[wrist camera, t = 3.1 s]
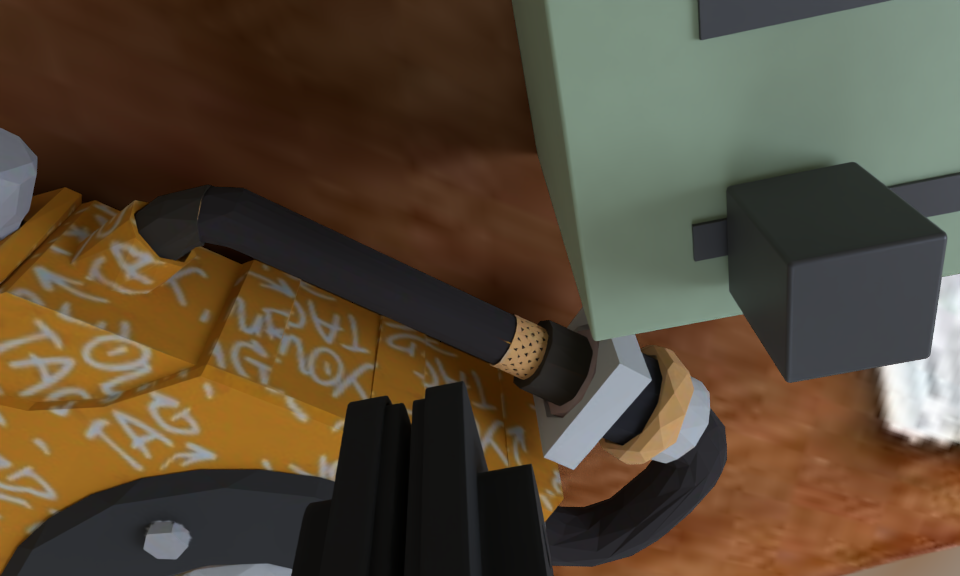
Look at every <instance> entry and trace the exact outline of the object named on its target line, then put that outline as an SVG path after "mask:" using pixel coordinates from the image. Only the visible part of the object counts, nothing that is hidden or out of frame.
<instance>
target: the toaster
mask: <svg viewBox="0 0 960 576" xmlns="http://www.w3.org/2000/svg"><path fill="white" fill-rule="evenodd" d="M512 6H513V12H514V18H515V24H516V29H517V35H518V41H519V47H520V53H521V59H522V65H523V71H524V77H525V83H526V89H527V95H528V101H529V107H530V113H531V119H532V125H533V131H534V137H535V143H536V149H537V154H538V158H539V161H540V164H541V168H542V171H543V174H544V178H545V181H546V184H547V188H548V191H549V195H550V198H551V201H552V205H553V208H554V211H555V215H556V218H557V221H558V225H559V228H560V231H561V235H562V238H563V241H564V245H565V248H566V251H567V255H568V258H569V261H570V265H571V268H572V271H573V275H574V278H575V281H576V285H577V288H578V291H579V295H580V298H581V301H582V305H583V308H584V312H585V315H586V318H587V322H588V325H589V328H590V332H591V335H592V338H593V339H594V340H595V341H601V340H606V339H611V338H617V337H622V336H627V335H633V334H638V333H644V332H649V331H654V330H660V329H665V328H671V327H676V326H681V325H687V324H692V323H697V322H703V321H708V320H714V319H719V318H724V317H730V316H735V315H741V314H743V313H742V311H741V309H740V308H739V306H738V305H737V303H736V301H735V300H734V298H733V297H732V295H731V294H730V292H729V271H728V234H727V197H726V190H727V187H729V186H732V185H737V184H742V183H747V182H752V181H757V180H762V179H767V178H772V177H777V176H782V175H787V174H793V173H798V172H803V171H808V170H813V169H818V168H823V167H828V166H833V165H838V164H843V163H848V162H856V163H858V164H859V165H860V166H861V167H863V168H864V169H865V170H867V171H868V172H869V173H870V174H872V175H873V176H874V177H875V178H877V179H878V180H879V181H881V182H882V183H883V184H884V185H886V186H887V187H888V188H890V189H891V190H892V191H893V192H895V193H896V194H897V195H898V196H900V197H901V198H902V199H904V200H905V201H906V202H907V203H909V204H910V205H911V206H913V207H914V208H915V209H916V210H918V211H919V212H920V213H921V214H923V215H924V216H925V217H927V218H928V219H929V220H930V221H932V222H933V223H934V224H936V225H937V226H938V227H939V228H941V229H942V230H943V231H944V232H946V234H947V245H946V252H945V259H944V265H943V272H942V277H945V276H950V275H956V274H960V0H512Z"/></svg>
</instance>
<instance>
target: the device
mask: <svg viewBox="0 0 960 576" xmlns="http://www.w3.org/2000/svg"><path fill="white" fill-rule="evenodd" d="M36 175H37V156H36V155H35V154H34V153H33V152H32V150H31V149H30V148H29V147H28V146H27V145H26V144H25V143H24V142H23V140H22V139H21V138H20V137H19V136H17V135H14V134H12V133H10V132H8V131H6V130H4V129H2V128H0V576H291V573H292V568H293V564H294V559H295V554H296V549H297V544H298V539H299V534H300V529H301V524H302V519H303V516H304V512H305V509H306V507H307V506H308V505H309V503H313V502H319V501H324V500H330V499H332V495H333V489H334V482H335V476H336V470H337V464H338V458H339V452H340V446H341V440H342V434H343V428H344V422H345V416H346V410H347V406H348V404H349V403H350V402H353V401H359V400H364V399H369V398H375V397H380V396H385V395H386V396H388V397H389V398H390V400H391V403H392V404H397V403H404V405H405V407H406V409H407V412H408V415H409V419H410V422H411V424H412V405H413V401H414V400H419V399H424V398H425V390H426V388H428V387H434V386H439V385H444V384H450V383H455V382H460V381H464V383H465V385H466V388H467V392H468V396H469V399H470V403H471V407H472V411H473V414H474V418H475V422H476V426H477V429H478V433H479V437H480V441H481V444H482V448H483V452H484V456H485V460H486V463H487V467H488V471H492V470H498V469H503V468H509V467H515V466H520V465H526V464H532V466H533V470H534V475H535V479H536V483H537V488H538V492H539V497H540V502H541V506H542V511H543V516H544V522H545V527H546V532H547V538H548V544H549V550H550V556H551V562H552V565H553V566H591V567H593V566H596V565H600V564H603V563H607V562H611V561H614V560H618V559H622V558H625V557H629V556H632V555H634V554H635V553H637V552H639V551H640V550H642V549H644V548H646V547H647V546H649V545H651V544H652V543H654V542H656V541H657V540H658V539H660V538H661V537H662V536H664V535H665V534H666V533H668V532H669V531H670V530H671V529H672V528H673V527H674V526H676V525H677V524H678V523H679V522H680V521H681V520H682V519H684V518H685V517H686V516H687V515H688V514H689V513H691V512H692V510H693V509H694V508H695V507H696V506H697V505H698V504H699V503H700V502H701V500H702V499H703V498H704V497H705V496H706V495H707V494H708V493H709V491H710V490H711V489H712V488H713V487H714V486H715V484H716V482H717V481H718V479H719V477H720V475H721V473H722V471H723V468H724V465H725V463H726V460H727V443H726V434H725V426H724V425H723V424H722V422H721V421H720V420H719V418H718V417H717V416H716V415H715V413H714V412H713V411H712V409H711V408H710V394H709V392H708V390H707V389H706V387H705V386H704V385H703V383H702V382H700V381H699V380H697V379H695V378H693V377H691V376H690V374H689V371H688V370H687V369H686V368H685V366H684V365H683V364H682V362H681V361H680V360H679V359H678V357H677V356H676V355H675V353H674V352H673V351H672V350H669V349H666V348H663V347H659V346H655V345H647V346H645V347H643V348H641V349H640V347H639V344H638V342H637V339H636V336H635V334H633V335H627V336H622V337H617V338H611V339H606V340H601V341H595V340H594V339H593V338H592V335H591V332H590V328H589V325H588V322H587V318H586V315H585V312H584V308H583V307H582V309H581V310H580V311H579V313H578V314H577V315H576V317H575V318H574V319H573V321H572V322H571V323H570V325H569V326H568V327H567V328H565V327H563V326H561V325H559V324H557V323H554V322H552V321H550V320H546V321H540V322H539V323H538V324H535V323H532V322H530V321H528V320H526V319H523V318H521V317H519V316H517V315H515V314H510V313H508V312H506V311H503V310H501V309H499V308H497V307H495V306H493V305H491V304H489V303H486V302H484V301H482V300H480V299H478V298H476V297H474V296H472V295H469V294H467V293H465V292H463V291H461V290H459V289H457V288H455V287H452V286H450V285H448V284H446V283H444V282H442V281H440V280H438V279H436V278H433V277H431V276H429V275H427V274H425V273H423V272H421V271H419V270H416V269H414V268H412V267H410V266H408V265H406V264H404V263H402V262H399V261H397V260H395V259H393V258H391V257H389V256H387V255H385V254H382V253H380V252H378V251H376V250H374V249H372V248H370V247H368V246H365V245H363V244H361V243H359V242H357V241H355V240H353V239H351V238H348V237H346V236H344V235H342V234H340V233H338V232H336V231H334V230H331V229H329V228H327V227H325V226H323V225H321V224H319V223H317V222H314V221H312V220H310V219H308V218H306V217H304V216H302V215H300V214H297V213H295V212H293V211H291V210H289V209H287V208H285V207H283V206H281V205H278V204H276V203H274V202H272V201H270V200H268V199H266V198H264V197H261V196H259V195H257V194H255V193H253V192H251V191H249V190H247V189H244V188H234V187H214V186H212V185H204V186H200V187H196V188H192V189H188V190H183V191H179V192H175V193H171V194H167V195H163V196H158V197H157V198H156V199H154V200H153V201H152V202H150V203H149V202H144V201H138V200H134V201H133V202H132V203H130V204H129V205H128V206H127V207H125V208H124V209H123V210H121V211H118V210H116V209H114V208H112V207H109V206H107V205H105V204H102V203H100V202H98V201H96V200H94V201H91V202H87V203H83V204H82V194H79V193H77V192H75V191H73V190H70V189H68V188H66V187H64V188H61V189H57V190H54V191H50V192H46V193H43V194H39V195H36V196H32V195H33V190H34V185H35V180H36ZM205 243H210V244H215V245H220V246H226V247H230V248H232V249H234V250H236V251H239V252H241V253H243V254H245V255H248V256H250V257H252V258H254V259H257V260H259V261H261V262H263V263H266V264H268V265H270V266H268V265H266V264H263V263H261V262H259V261H256V260H252V261H249V262H246V263H244V264H240V263H237V262H235V261H233V260H230V259H228V258H226V257H224V256H221V255H219V254H217V253H214V252H212V251H210V250H208V249H205V248H203V247H201V246H204V244H205ZM271 266H273V267H275V268H277V269H275V268H273V267H271ZM278 269H279V270H278ZM280 270H282V271H280ZM283 271H284V272H283ZM285 272H286V273H285ZM287 273H288V274H287ZM290 274H291V275H290ZM292 275H293V276H292ZM294 276H295V277H294ZM299 278H300V279H299ZM301 279H302V280H304V281H306V282H309V283H311V284H313V285H315V286H318V287H320V288H322V289H324V290H327V291H329V292H331V293H333V294H336V295H338V296H340V297H342V298H345V299H347V300H349V301H351V302H354V303H356V304H358V305H361V306H363V307H365V308H367V309H370V310H372V311H374V312H376V313H379V314H381V315H383V316H380V315H378V314H376V313H374V312H371V311H369V310H367V309H365V308H362V307H360V306H358V305H356V304H353V303H351V302H349V301H347V300H344V299H342V298H340V297H338V296H335V295H333V294H331V293H329V292H326V291H324V290H322V289H320V288H317V287H315V286H313V285H310V284H308V283H306V282H304V281H301ZM387 317H388V318H387ZM389 318H390V319H389ZM396 321H397V322H396ZM398 322H399V323H398ZM405 325H406V326H405ZM407 326H408V327H407ZM414 329H415V330H414ZM416 330H417V331H416ZM423 333H424V334H423ZM425 334H426V335H428V336H430V337H433V338H435V339H437V340H439V341H442V342H444V343H446V344H449V345H451V346H453V347H455V348H458V349H460V350H462V351H464V352H467V353H469V354H471V355H473V356H476V357H478V358H480V359H482V360H485V361H487V362H489V363H486V362H484V361H482V360H480V359H477V358H475V357H473V356H471V355H468V354H466V353H464V352H462V351H459V350H457V349H455V348H453V347H450V346H448V345H446V344H444V343H441V342H439V341H437V340H435V339H432V338H430V337H428V336H426V335H425ZM598 441H599V442H600V445H601V448H602V449H604V450H606V451H607V452H609V453H610V454H612V455H613V456H615V457H616V458H618V459H619V460H621V461H623V462H625V463H626V464H643V463H645V462H647V461H649V460H650V459H652V461H651V462H650V464H649V465H648V466H647V468H646V469H645V470H643V471H642V472H641V473H640V474H639V475H637V476H636V477H635V478H634V479H633V480H632V481H630V482H629V483H628V484H627V485H626V486H624V487H623V488H622V489H621V490H620V491H618V492H617V493H616V494H615V495H614V496H612V497H611V498H610V499H607V500H604V501H601V502H598V503H595V504H592V505H589V506H586V507H560V506H558V505H559V504H560V503H561V501H562V500H563V499H564V497H563V491H562V486H561V480H560V475H559V469H558V464H557V463H559V464H561V465H564V466H566V467H568V468H571V469H573V470H574V469H575V468H576V467H577V466H578V464H579V463H580V462H581V461H582V460H583V459H584V458H585V456H586V455H587V454H588V453H589V452H590V451H591V449H592V448H593V447H594V446H595V445H596V444H597V443H598Z"/></svg>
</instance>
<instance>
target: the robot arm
mask: <svg viewBox="0 0 960 576" xmlns="http://www.w3.org/2000/svg"><path fill="white" fill-rule="evenodd" d="M291 576H554V575H553V568H552V562H551V556H550V550H549V544H548V538H547V532H546V527H545V522H544V516H543V511H542V506H541V502H540V497H539V492H538V488H537V483H536V479H535V475H534V470H533V466H532V464H526V465H520V466H515V467H509V468H503V469H498V470H492V471H488V467H487V463H486V460H485V456H484V452H483V448H482V444H481V441H480V437H479V433H478V429H477V426H476V422H475V418H474V414H473V411H472V407H471V403H470V399H469V396H468V392H467V388H466V385H465V383H464V381H460V382H455V383H450V384H444V385H439V386H434V387H428V388H426V390H425V398H424V399H419V400H414V401H413V405H412V424H411V422H410V419H409V415H408V412H407V409H406V407H405V405H404V403H397V404H392V403H391V400H390V398H389V397H388V396H386V395H385V396H380V397H375V398H369V399H364V400H359V401H353V402H350V403H349V404H348V406H347V410H346V416H345V422H344V428H343V434H342V440H341V446H340V452H339V458H338V464H337V470H336V476H335V482H334V489H333V495H332V499H330V500H324V501H319V502H313V503H309V505H308V506H307V507H306V509H305V512H304V516H303V519H302V524H301V529H300V534H299V539H298V544H297V549H296V554H295V559H294V564H293V568H292V573H291Z"/></svg>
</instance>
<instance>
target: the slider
mask: <svg viewBox="0 0 960 576" xmlns="http://www.w3.org/2000/svg"><path fill="white" fill-rule="evenodd" d="M726 197H727V234H728V271H729V292H730V294H731V295H732V297H733V298H734V300H735V301H736V303H737V305H738V306H739V308H740V309H741V311H742V313H743V314H744V316H745V317H746V319H747V320H748V322H749V324H750V325H751V327H752V328H753V330H754V332H755V333H756V335H757V336H758V338H759V339H760V341H761V343H762V344H763V346H764V347H765V349H766V351H767V352H768V354H769V355H770V357H771V358H772V360H773V362H774V363H775V365H776V366H777V368H778V369H779V371H780V373H781V374H782V376H783V377H784V379H785V381H787V382H790V383H792V382H797V381H803V380H809V379H814V378H820V377H825V376H831V375H837V374H842V373H848V372H853V371H859V370H864V369H870V368H876V367H881V366H887V365H892V364H898V363H904V362H909V361H915V360H920V359H926V358H928V357H929V356H930V353H931V346H932V340H933V333H934V326H935V319H936V313H937V306H938V299H939V292H940V286H941V279H942V272H943V265H944V259H945V252H946V245H947V234H946V232H944V231H943V230H942V229H941V228H939V227H938V226H937V225H936V224H934V223H933V222H932V221H930V220H929V219H928V218H927V217H925V216H924V215H923V214H921V213H920V212H919V211H918V210H916V209H915V208H914V207H913V206H911V205H910V204H909V203H907V202H906V201H905V200H904V199H902V198H901V197H900V196H898V195H897V194H896V193H895V192H893V191H892V190H891V189H890V188H888V187H887V186H886V185H884V184H883V183H882V182H881V181H879V180H878V179H877V178H875V177H874V176H873V175H872V174H870V173H869V172H868V171H867V170H865V169H864V168H863V167H861V166H860V165H859V164H858V163H856V162H848V163H843V164H838V165H833V166H828V167H823V168H818V169H813V170H808V171H803V172H798V173H793V174H787V175H782V176H777V177H772V178H767V179H762V180H757V181H752V182H747V183H742V184H737V185H732V186H729V187H727V190H726Z"/></svg>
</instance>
